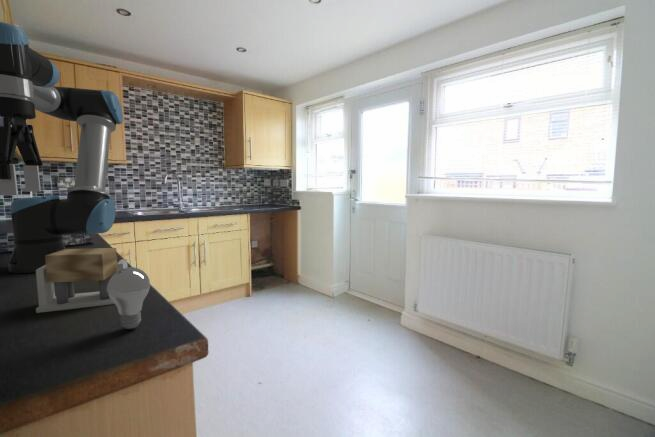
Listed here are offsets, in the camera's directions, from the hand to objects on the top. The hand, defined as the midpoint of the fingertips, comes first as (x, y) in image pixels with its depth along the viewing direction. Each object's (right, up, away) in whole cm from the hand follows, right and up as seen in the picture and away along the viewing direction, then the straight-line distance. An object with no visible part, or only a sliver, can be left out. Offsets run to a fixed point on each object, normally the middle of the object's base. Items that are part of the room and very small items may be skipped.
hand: (22, 193), depth 74 cm
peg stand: (+15, -25, 0) cm, 30 cm away
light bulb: (+34, -27, -14) cm, 46 cm away
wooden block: (+15, -20, -1) cm, 25 cm away
